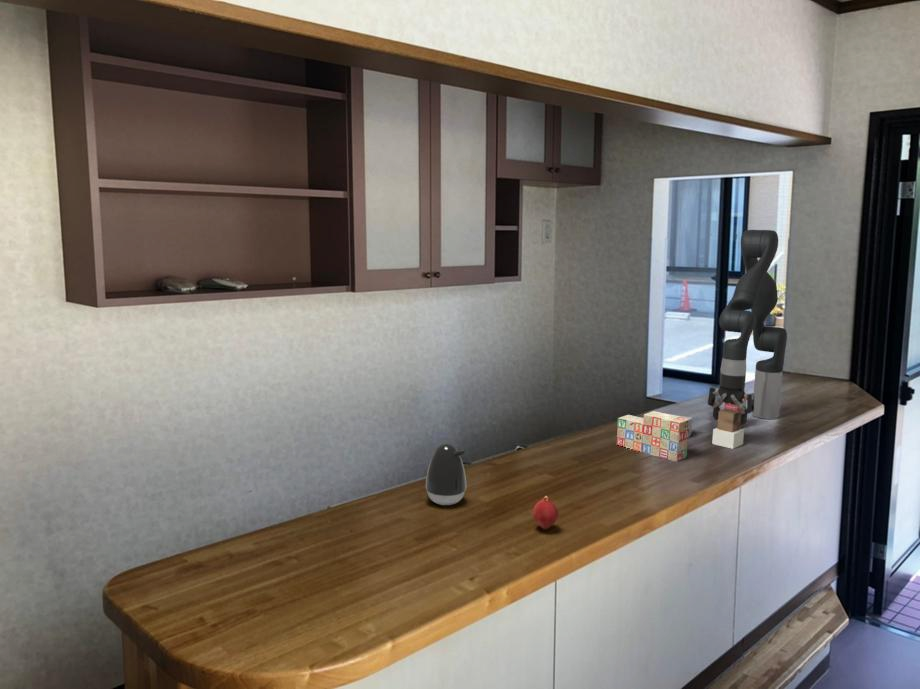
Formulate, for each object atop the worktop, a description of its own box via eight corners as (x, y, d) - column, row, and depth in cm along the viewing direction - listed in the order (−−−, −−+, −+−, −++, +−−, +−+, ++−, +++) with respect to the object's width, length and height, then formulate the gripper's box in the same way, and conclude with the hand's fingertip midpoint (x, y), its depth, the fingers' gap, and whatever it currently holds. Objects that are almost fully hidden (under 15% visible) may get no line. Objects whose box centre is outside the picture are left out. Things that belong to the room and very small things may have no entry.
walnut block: (724, 426, 246) (726, 408, 245) (739, 429, 243) (740, 411, 242) (717, 429, 243) (718, 411, 242) (732, 432, 239) (733, 414, 238)
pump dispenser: (452, 512, 183) (453, 452, 181) (417, 503, 189) (418, 445, 186) (474, 500, 192) (475, 442, 189) (440, 491, 197) (440, 435, 195)
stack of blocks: (615, 446, 239) (617, 408, 237) (626, 442, 244) (628, 405, 242) (677, 462, 225) (680, 422, 223) (687, 457, 229) (690, 418, 227)
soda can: (741, 423, 268) (744, 390, 266) (746, 429, 261) (749, 395, 259) (720, 423, 268) (723, 390, 266) (725, 428, 261) (728, 394, 259)
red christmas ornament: (530, 524, 177) (531, 491, 176) (554, 523, 178) (555, 491, 176) (534, 534, 172) (535, 500, 170) (559, 533, 172) (561, 500, 171)
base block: (722, 440, 248) (723, 425, 247) (742, 444, 243) (744, 429, 242) (712, 444, 243) (713, 429, 243) (732, 449, 238) (734, 433, 238)
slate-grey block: (675, 432, 256) (677, 415, 255) (691, 434, 253) (692, 417, 252) (672, 436, 251) (673, 418, 250) (687, 438, 249) (688, 420, 248)
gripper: (760, 374, 237) (756, 424, 240) (717, 367, 247) (713, 415, 250) (750, 377, 232) (745, 428, 235) (706, 370, 242) (702, 419, 244)
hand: (729, 422), depth 242 cm, fingers open, 8 cm apart
